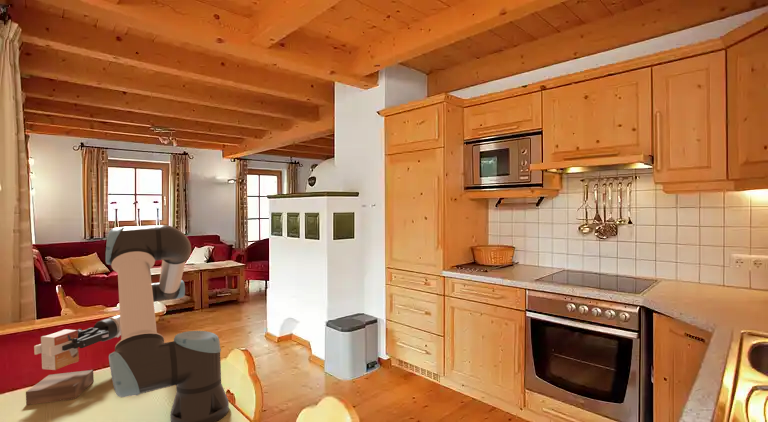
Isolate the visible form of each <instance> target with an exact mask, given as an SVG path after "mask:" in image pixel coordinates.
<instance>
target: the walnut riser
mask: <svg viewBox="0 0 768 422" xmlns="http://www.w3.org/2000/svg"><path fill="white" fill-rule="evenodd" d="M94 378H95V377H94V369H91V370H90V369H89V370H81V371H80V370H79V371H71V372H70V371H69V372H63V373H54V374H53V373H52V374H48V375H47V376H45V377H43V379H42V380H39V382H37V383H35V384H34V385H33V386H32V387H31V388H29V389H28V390H26V391H25V403H26V406H30V405H36V404H43V403H44V404H45V403H52V402H61V401H68V400H75V399H77V398H78V397H79V396H80V395H81V394H82V393H83V392H84V391H85V390H86V389H87V388H88V387H90V386H91V385H92V384H93V383H94V381H95V380H94Z"/></svg>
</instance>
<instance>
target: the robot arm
mask: <svg viewBox="0 0 768 422" xmlns="http://www.w3.org/2000/svg"><path fill="white" fill-rule="evenodd" d="M107 233H108V234H107V238H106V244H105V246H106V247H105V264H106V265H108V266H110V267H111V269H112V270H113V271H114V272H116V273H117V282H118V285H117V286H118V302H119V303H118V304H119V314H118V315H115V316H110V317H108V318H104V319H101V320H99V321H96V323H95V324H94V325H93V327H88V328H86V329H83V330H82V328H78V329H77V330H78V339H77V338H73V343H72V341H67V342H64V343H61V344H58V345H55V346H52V347H50V348H49V355H50V356H54V355H57V354H59V353H62V352H65V351H68V350H71V349H72V348H74V349H76V348H78V349H83V348H86V347H90V346H92V345H94V344H97V343H99V342H107V341H109V340H112V339H114V338H117V339H118V338H119V337H120V340H119V341H117V343H116V344H115V347H114V351H112V352H111V353H108V362H109V364H108V365H109V367H110V368H109V369H110V375H111V380H112V384H113V385H112V386H113V389H114V392H115V395H116V396H117V397H119V398H126V397H127V398H128V397H132V396H140V395H141V394H145V393H149V392H153V391H154V392H155V391H157V390H161V389H164V388H165V389H166V388H169V387H173V386H176V388H175V389H176V392H175V395H174V400H173V403H172V406H171V409H170V413H169V414H170V415H169V418H170V422H218V421H219V420H221V419H222V418H224V417H225V416H226V415H227V414H228V412H229V410H230V409H229V407H230V406H229V398H228V396H227V394H226V391H225V389H224V387H223V383H222V369H221V368H222V363H221V362H222V361H221V352H222V350H221V349H222V348H221V342H220V338H219V336H218V334H216V333H214V332H211V331H207V330H190V331H188V330H187V331H183V332H179V333H177V334H175V336H174V338H173V341H168V342H165V339H164V335H162V334H161V333H158V331H157V321H156V313H155V312H156V311H155V304H154V303H156V302H163V301H171V300H178V299H182V298H184V297H185V296H186V285H185V282H184V280H183V279H182V278H183V275H184V271H185V270H184V269H185V265H186V262H187V261H188V260H189V258H190V257H191V252H192V245H191V241H190V240H189V238H188V237H187V235H186V234H185V233H184V232H182V231H181V230H180V229H178V228H176V227H174V226H172V225H166V224H158V225H155V224H154V225H139V226H137V225H134V226H120V227H119V226H118V227H113V228H111V229H110V230H108V232H107ZM156 261H161V266H160V267H161V269H160V274H159V282H153V281H152V273H151V269H152V268H153V267H154V265H155V263H156ZM33 350H34V352H33V353H34V356H35V355H36V356H37V355H39V354H42V352H41V343H39V344H36V345H34V346H33Z"/></svg>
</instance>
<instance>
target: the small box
mask: <svg viewBox="0 0 768 422" xmlns="http://www.w3.org/2000/svg"><path fill="white" fill-rule="evenodd" d="M78 330H79V329H66V328H65V329H62V330H59V331H57V332H54V333H50V334H47V335H42V336H40V344H41V352H42V353H41V369H42V370H50V371H51V370H52V371H57V370H58V369H61V368H64V367H66V366H69V365H71V364H72V365H73V364H76V363H78V362H79V361H80V360H79V359H80V355H79V347H78V348H76V349H74V348H72V349H71V350H68V351H65V352H62V353H59V354H57V355H54V356H50V355H49V348H50V347H52V346H55V345H58V344H61V343H64V342H67V341H72V343H73V338H77V339H78Z"/></svg>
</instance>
